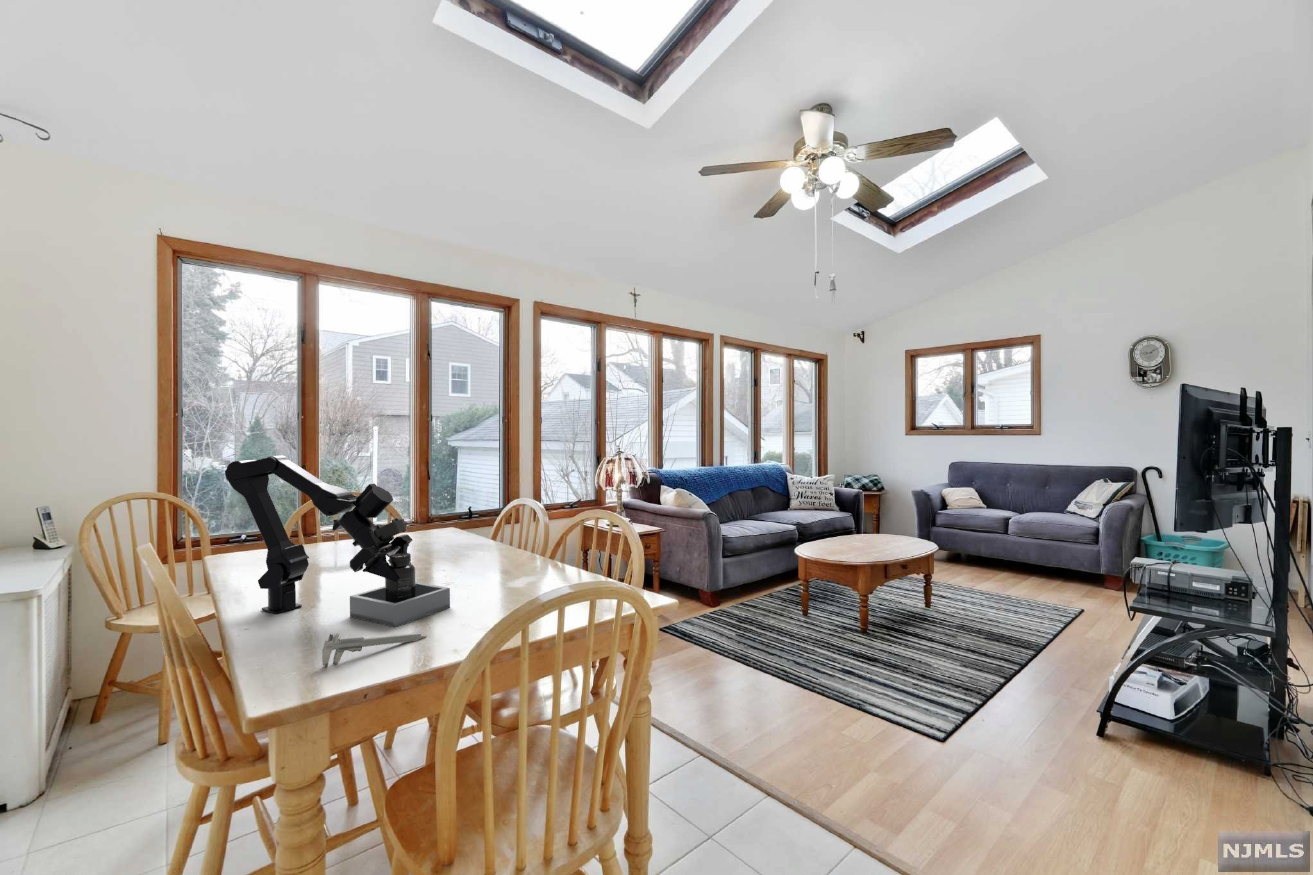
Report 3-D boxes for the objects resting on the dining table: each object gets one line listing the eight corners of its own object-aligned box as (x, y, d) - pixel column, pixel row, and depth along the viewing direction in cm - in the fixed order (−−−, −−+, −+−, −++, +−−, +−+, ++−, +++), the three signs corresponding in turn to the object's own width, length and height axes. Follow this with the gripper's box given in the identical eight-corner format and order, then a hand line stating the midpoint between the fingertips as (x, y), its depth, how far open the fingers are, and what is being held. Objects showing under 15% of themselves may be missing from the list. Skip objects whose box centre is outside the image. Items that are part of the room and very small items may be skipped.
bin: (350, 616, 137) (349, 596, 137) (406, 599, 151) (406, 580, 151) (394, 627, 130) (394, 605, 130) (450, 607, 144) (449, 587, 144)
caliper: (324, 669, 108) (324, 636, 108) (322, 668, 108) (321, 635, 108) (426, 638, 123) (426, 609, 123) (424, 637, 124) (423, 608, 124)
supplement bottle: (418, 598, 144) (418, 551, 144) (411, 607, 138) (410, 557, 137) (390, 599, 143) (390, 551, 143) (381, 608, 137) (380, 558, 136)
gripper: (361, 514, 131) (407, 563, 130) (405, 503, 150) (445, 546, 149) (329, 547, 132) (374, 596, 131) (376, 532, 151) (416, 575, 150)
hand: (405, 576), depth 140 cm, fingers closed on supplement bottle, 6 cm apart
